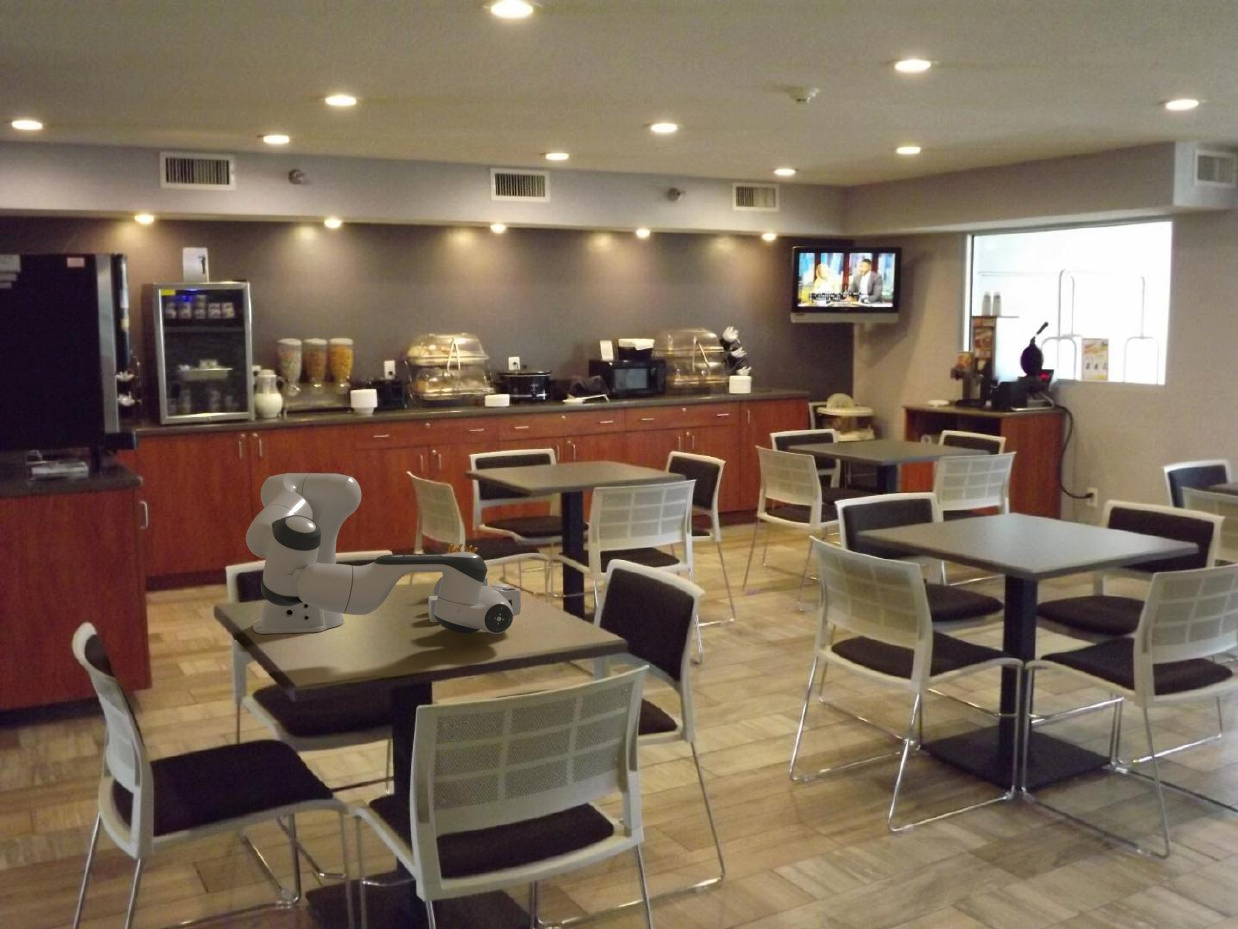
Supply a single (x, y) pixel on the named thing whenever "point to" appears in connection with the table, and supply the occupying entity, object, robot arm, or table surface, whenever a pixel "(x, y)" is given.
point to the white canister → (500, 585)
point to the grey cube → (432, 607)
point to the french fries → (458, 549)
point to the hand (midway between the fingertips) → (475, 593)
